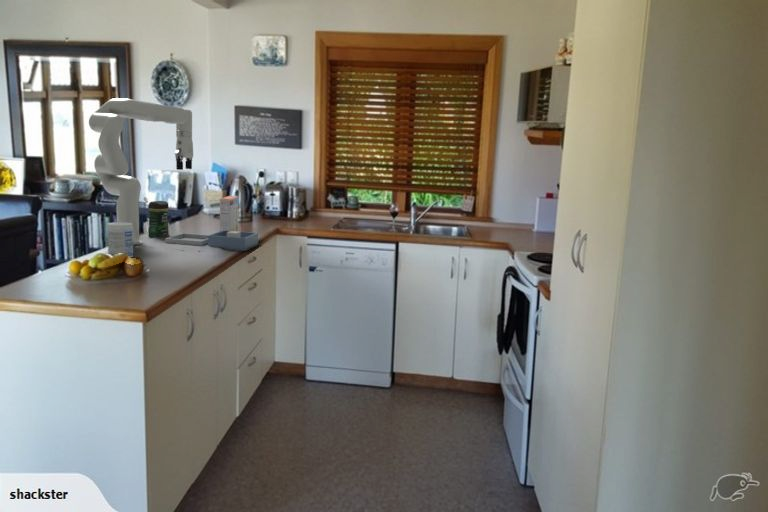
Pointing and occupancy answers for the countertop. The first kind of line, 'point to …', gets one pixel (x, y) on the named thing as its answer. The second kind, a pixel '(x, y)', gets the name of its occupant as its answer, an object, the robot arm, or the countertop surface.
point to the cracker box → (229, 213)
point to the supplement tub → (120, 238)
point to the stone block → (234, 234)
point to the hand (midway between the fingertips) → (184, 169)
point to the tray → (188, 239)
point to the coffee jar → (158, 219)
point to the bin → (233, 240)
